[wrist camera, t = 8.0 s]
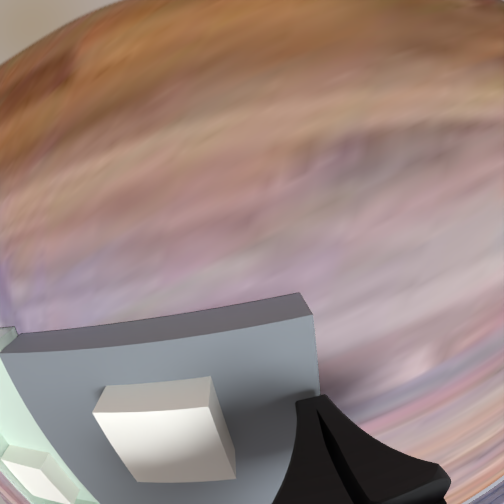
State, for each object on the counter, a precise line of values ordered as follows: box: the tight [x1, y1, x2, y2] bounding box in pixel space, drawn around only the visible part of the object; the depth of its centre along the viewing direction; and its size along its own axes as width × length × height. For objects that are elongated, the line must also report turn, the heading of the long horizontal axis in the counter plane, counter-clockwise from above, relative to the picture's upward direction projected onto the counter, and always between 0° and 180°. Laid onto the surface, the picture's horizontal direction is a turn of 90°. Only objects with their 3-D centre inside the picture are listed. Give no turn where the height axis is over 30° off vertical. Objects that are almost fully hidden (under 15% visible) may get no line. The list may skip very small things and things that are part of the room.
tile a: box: [1, 445, 80, 504], centre depth 15 cm, size 5×5×2 cm
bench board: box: [0, 293, 320, 504], centre depth 15 cm, size 17×16×2 cm
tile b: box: [92, 376, 236, 483], centre depth 12 cm, size 5×5×2 cm
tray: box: [0, 327, 100, 504], centre depth 14 cm, size 18×9×3 cm, turn 10°
